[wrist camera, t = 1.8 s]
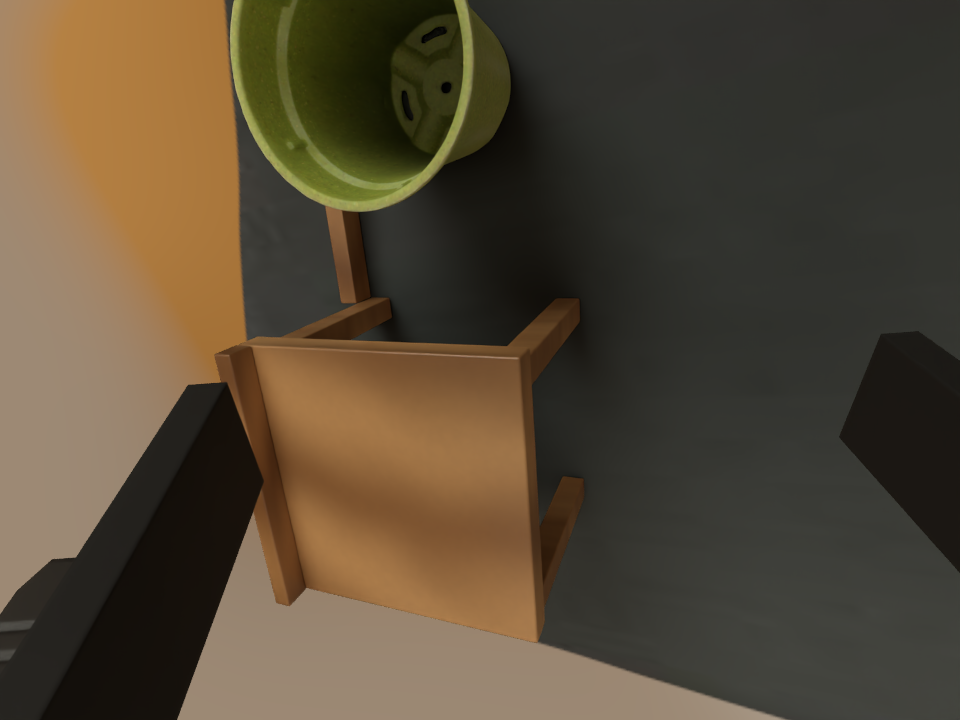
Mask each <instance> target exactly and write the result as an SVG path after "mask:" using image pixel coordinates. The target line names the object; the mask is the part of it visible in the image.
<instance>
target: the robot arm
mask: <svg viewBox="0 0 960 720" xmlns="http://www.w3.org/2000/svg"><path fill="white" fill-rule="evenodd" d="M839 438H840V439H841V440H842V441H843V442H844V443H845V444H846V446H847V447H848V448H849V449H850V450H851V451H852V452H853V453H854V454H855V456H856V457H857V458H858V459H859V460H860V461H861V462H862V463H863V465H864V466H865V467H866V468H867V469H868V470H869V471H870V472H871V474H872V475H873V476H874V477H875V478H876V479H877V480H878V481H879V483H880V484H881V485H882V486H883V487H884V488H885V489H886V490H887V492H888V493H889V494H890V495H891V496H892V497H893V498H894V499H895V501H896V502H897V503H898V504H899V505H900V506H901V507H902V508H903V509H904V511H905V512H906V513H907V514H908V515H909V516H910V517H911V518H912V520H913V521H914V522H915V523H916V524H917V525H918V526H919V527H920V529H921V530H922V531H923V532H924V533H925V534H926V535H927V536H928V538H929V539H930V540H931V541H932V542H933V543H934V544H935V545H936V547H937V548H938V549H939V550H940V551H941V552H942V553H943V554H944V556H945V557H946V558H947V559H948V560H949V561H950V562H951V563H952V565H953V566H954V567H955V568H956V569H957V570H958V571H959V572H960V361H959V360H958V359H956V358H955V357H954V356H952V355H951V354H949V353H948V352H947V351H945V350H944V349H942V348H941V347H940V346H938V345H937V344H935V343H934V342H933V341H931V340H930V339H928V338H927V337H926V336H924V335H923V334H921V333H920V332H919V331H916V332H903V333H889V334H881V335H880V338H879V340H878V343H877V345H876V348H875V350H874V353H873V355H872V358H871V360H870V362H869V365H868V367H867V370H866V372H865V375H864V377H863V380H862V382H861V385H860V387H859V389H858V392H857V394H856V397H855V399H854V402H853V404H852V407H851V409H850V411H849V414H848V416H847V419H846V421H845V424H844V426H843V429H842V431H841V434H840V436H839ZM263 483H264V479H263V477H262V474H261V471H260V469H259V466H258V463H257V461H256V458H255V455H254V453H253V450H252V447H251V445H250V442H249V439H248V437H247V434H246V431H245V429H244V426H243V423H242V421H241V418H240V415H239V413H238V410H237V407H236V405H235V402H234V399H233V397H232V394H231V391H230V389H229V386H228V383H227V382H222V383H209V384H196V385H188V386H187V387H186V389H185V391H184V392H183V394H182V395H181V397H180V398H179V400H178V401H177V403H176V404H175V406H174V407H173V409H172V411H171V412H170V414H169V415H168V417H167V418H166V420H165V421H164V423H163V424H162V426H161V428H160V429H159V431H158V432H157V434H156V435H155V437H154V438H153V440H152V441H151V443H150V445H149V446H148V447H147V449H146V451H145V452H144V454H143V455H142V457H141V458H140V460H139V461H138V463H137V464H136V466H135V468H134V469H133V471H132V472H131V474H130V475H129V477H128V478H127V480H126V481H125V483H124V485H123V486H122V487H121V489H120V491H119V492H118V494H117V495H116V497H115V498H114V500H113V501H112V503H111V504H110V506H109V507H108V509H107V511H106V512H105V514H104V515H103V517H102V518H101V520H100V522H99V523H98V525H97V526H96V527H95V529H94V531H93V532H92V534H91V535H90V537H89V538H88V540H87V541H86V543H85V544H84V546H83V548H82V549H81V551H80V552H79V554H78V555H77V557H76V558H64V559H52V560H51V561H50V562H49V563H48V564H46V565H45V566H44V567H43V568H42V569H41V570H40V571H39V572H37V573H36V574H35V575H34V576H33V577H32V578H31V579H30V580H29V581H27V582H26V583H25V584H24V585H23V586H22V587H21V588H20V589H18V590H17V592H16V593H15V594H14V596H13V597H12V599H11V600H10V602H9V603H8V604H7V606H6V607H5V608H4V610H3V611H2V613H1V614H0V720H177V718H178V716H179V713H180V710H181V707H182V704H183V702H184V699H185V697H186V694H187V691H188V688H189V686H190V683H191V680H192V677H193V675H194V672H195V669H196V667H197V664H198V661H199V658H200V655H201V653H202V650H203V647H204V644H205V642H206V639H207V636H208V634H209V631H210V628H211V626H212V623H213V620H214V617H215V615H216V612H217V609H218V606H219V603H220V601H221V598H222V595H223V592H224V590H225V587H226V584H227V582H228V579H229V576H230V573H231V571H232V568H233V565H234V563H235V560H236V557H237V554H238V551H239V549H240V546H241V543H242V541H243V538H244V535H245V533H246V530H247V527H248V524H249V522H250V519H251V516H252V513H253V511H254V508H255V505H256V502H257V500H258V497H259V494H260V492H261V489H262V486H263Z"/></svg>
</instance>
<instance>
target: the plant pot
mask: <svg viewBox="0 0 960 720" xmlns="http://www.w3.org/2000/svg"><path fill="white" fill-rule="evenodd" d="M441 26H445V28H446V29H447V32H446V34H444V35H441V36H438V37H435V38H433V39H431V40H430V41H427V42H426V43H425V44H423V43H421V41H422V37H423V35H425V34H427V33H429V32H431V31H432V30H433V29H434V28H436V27H441ZM230 44H231V62H232V69H233V77H234V82H235V87H236V91H237V95H238V98H239V101H240V104H241V107H242V111H243V114H244V116H245V119H246V121H247V124H248V126H249V128H250V131H251V133H252V135H253V137H254V139H255V140H256V142H257V144H258V146H259V147H260V149H261V150H262V152H263V153H264V155H265V156H266V158H267V159H268V160H269V161H270V163H271V164H272V165H273V166H274V168H275V169H276V170H277V171H278V172H279V173H280V174H281V175H282V177H283V178H284V179H285V180H286V181H288V182H289V183H290V184H291V185H292V186H294V187H295V188H296V189H298V190H299V191H300V192H301V193H303V194H304V195H305V196H307V197H308V198H310V199H312V200H314V201H316V202H318V203H320V204H323V205H325V206H328V207H331V208H334V209H339V210H344V211H351V212H365V211H373V210H379V209H383V208H387V207H389V206H392V205H395V204H397V203H399V202H401V201H403V200H405V199H407V198H409V197H410V196H412V195H413V194H415V193H416V192H418V191H419V190H420V189H421V188H423V187H424V186H425V185H426V184H427V183H428V182H429V181H430V180H431V179H432V178H433V177H434V176H435V175H436V174H437V173H438V172H439V170H440V169H441V168H442V166H443V165H445V164H448V163H450V162H453V161H455V160H458V159H460V158H462V157H465V156H467V155H470V154H472V153H474V152H476V151H477V150H479V149H480V148H481V147H483V146H484V145H485V144H487V143H488V142H489V141H490V140H491V138H492V137H493V136H494V134H495V132H496V131H497V129H498V127H499V125H500V123H501V121H502V118H503V116H504V114H505V111H506V109H507V106H508V103H509V98H510V90H511V81H510V70H509V65H508V61H507V57H506V55H505V52H504V50H503V48H502V46H501V44H500V42H499V40H498V39H497V37H496V36H495V34H494V33H493V32H492V31H491V30H490V28H489V27H488V26H487V25H486V24H485V23H484V22H483V21H482V20H481V19H480V17H479V16H478V15H477V14H476V13H475V12H474V11H473V10H472V9H471V8H470V6H469V4H468V1H467V0H234V4H233V10H232V20H231V31H230ZM445 82H449V83H450V84H451V86H452V88H451V91H450V92H449V93H447V94H446V93H443V92H442V90H441V86H442V84H443V83H445ZM403 91H406V92H407V95H408V99H409V105H410V108H411V111H412V113H413V116H414V119H413V121H411V120H409V119H408V118H407V116H406V114H405V112H404V109H403V105H402V92H403Z"/></svg>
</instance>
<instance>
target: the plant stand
mask: <svg viewBox="0 0 960 720" xmlns="http://www.w3.org/2000/svg"><path fill="white" fill-rule="evenodd" d="M325 207H326V213H327V219H328V225H329V231H330V237H331V243H332V249H333V255H334V261H335V267H336V273H337V279H338V285H339V291H340V297H341V303H358V302H360V301H363V300H365V299H367V298H369V297H371V295H370V288H369V282H368V275H367V268H366V261H365V255H364V248H363V241H362V234H361V228H360V221H359V214H358V212H351V211H344V210H339V209H334V208H331V207H328V206H325ZM391 318H392V314H391V307H390V299H389V298H374V297H372V298H369V299H367V300H365V301H363V302H360V303H358V304H356V305H353V306H351V307H349V308H347V309H344V310H342V311H340V312H337V313H335V314H333V315H331V316H328V317H326V318H324V319H321V320H319V321H317V322H315V323H312V324H310V325H308V326H305V327H303V328H301V329H299V330H296V331H294V332H292V333H289V334H287V335H285V336H283V337H280V338H277V337H256V338H253V339H251V340H249V341H246V342H244V343H241V344H239V345H236V346H234V347H231V348H229V349H227V350H224V351H222V352H219V353H217V354H215V360H216V364H217V367H218V372H219V376H220V380H221V383H222V382H227V383H228V386H229V389H230V391H231V394H232V397H233V399H234V402H235V405H236V407H237V410H238V413H239V415H240V418H241V421H242V423H243V426H244V429H245V431H246V434H247V437H248V439H249V442H250V445H251V447H252V450H253V453H254V455H255V458H256V461H257V463H258V466H259V469H260V471H261V474H262V477H263V479H264V483H263V486H262V489H261V492H260V494H259V497H258V500H257V502H256V505H255V508H254V511H253V512H254V516H255V520H256V524H257V528H258V532H259V536H260V540H261V544H262V548H263V552H264V556H265V560H266V564H267V568H268V572H269V575H270V580H271V584H272V588H273V592H274V595H275V600H276V603H278V604H282V605H286V606H290V605H291V604H292V603H293V602H294V601H295V600H296V599H297V598H298V597H299V596H300V595H301V594H302V592H303V591H304V590H305V589H306V588H309V589H313V590H317V591H322V592H326V593H330V594H334V595H338V596H342V597H346V598H351V599H355V600H359V601H363V602H368V603H372V604H376V605H380V606H384V607H388V608H392V609H396V610H401V611H405V612H409V613H413V614H418V615H422V616H425V617H430V618H434V619H438V620H442V621H446V622H451V623H455V624H459V625H463V626H467V627H472V628H475V629H480V630H484V631H488V632H492V633H496V634H500V635H504V636H509V637H513V638H517V639H521V640H525V641H529V642H534V643H537V642H538V640H539V637H540V635H541V632H542V629H543V626H544V623H545V615H544V607H545V605H546V602H547V599H548V596H549V593H550V591H551V588H552V585H553V582H554V580H555V577H556V574H557V571H558V568H559V566H560V563H561V560H562V557H563V555H564V552H565V549H566V546H567V543H568V541H569V538H570V535H571V532H572V530H573V527H574V524H575V521H576V518H577V516H578V513H579V510H580V507H581V505H582V502H583V499H584V479H582V478H574V477H566V476H563V477H562V479H561V481H560V484H559V486H558V488H557V490H556V493H555V495H554V497H553V499H552V501H551V504H550V506H549V508H548V510H547V513H546V515H545V517H544V519H543V521H542V524H541V526H540V525H539V507H538V489H537V471H536V454H535V436H534V418H533V400H532V384H533V383H534V382H535V380H536V379H537V378H538V376H539V375H540V374H541V372H542V371H543V370H544V368H545V367H546V366H547V364H548V363H549V362H550V360H551V359H552V358H553V356H554V355H555V354H556V352H557V351H558V350H559V348H560V347H561V346H562V344H563V343H564V342H565V340H566V339H567V338H568V336H569V335H570V334H571V332H572V331H573V330H574V328H575V327H576V326H577V325H578V323H579V322H580V300H579V299H578V298H557V299H555V300H554V301H553V302H552V303H551V304H550V305H549V306H548V307H547V308H546V309H545V310H544V311H543V312H542V313H541V314H540V315H539V316H538V317H536V318H535V319H534V320H533V321H532V322H531V323H530V324H529V325H528V326H527V327H526V328H525V329H524V330H523V331H522V332H521V333H520V334H519V335H518V336H517V337H516V338H515V339H514V340H513V341H512V342H511V343H510V344H509V345H508V346H487V345H460V344H434V343H408V342H382V341H355V340H351V339H353V338H355V337H357V336H359V335H360V334H362V333H364V332H366V331H368V330H370V329H372V328H374V327H376V326H377V325H379V324H381V323H383V322H385V321H387V320H389V319H391Z"/></svg>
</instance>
